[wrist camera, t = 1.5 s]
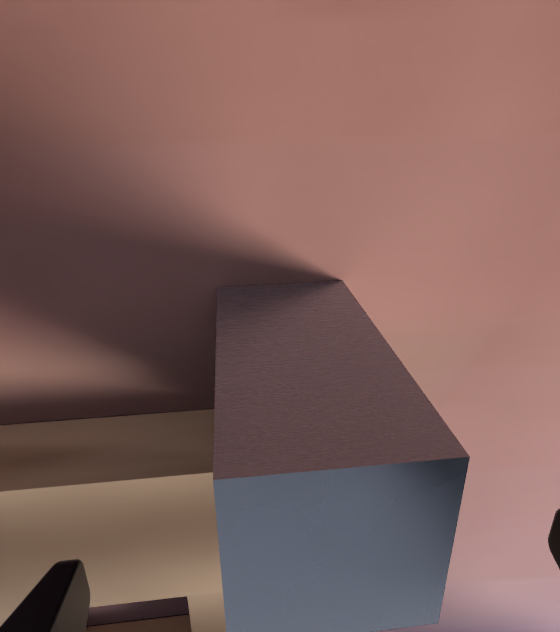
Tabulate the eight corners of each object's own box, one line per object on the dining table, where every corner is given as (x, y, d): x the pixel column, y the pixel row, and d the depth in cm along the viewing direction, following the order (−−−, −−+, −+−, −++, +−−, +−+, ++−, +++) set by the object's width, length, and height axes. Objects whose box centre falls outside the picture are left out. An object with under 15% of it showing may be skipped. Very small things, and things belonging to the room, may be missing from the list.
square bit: (337, 387, 16) (438, 623, 9) (224, 395, 15) (228, 649, 8) (342, 280, 14) (469, 456, 7) (216, 287, 14) (212, 480, 7)
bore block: (315, 668, 22) (328, 748, 19) (-21, 714, 20) (-59, 807, 18) (323, 400, 16) (344, 460, 13) (-152, 437, 14) (-238, 513, 12)
